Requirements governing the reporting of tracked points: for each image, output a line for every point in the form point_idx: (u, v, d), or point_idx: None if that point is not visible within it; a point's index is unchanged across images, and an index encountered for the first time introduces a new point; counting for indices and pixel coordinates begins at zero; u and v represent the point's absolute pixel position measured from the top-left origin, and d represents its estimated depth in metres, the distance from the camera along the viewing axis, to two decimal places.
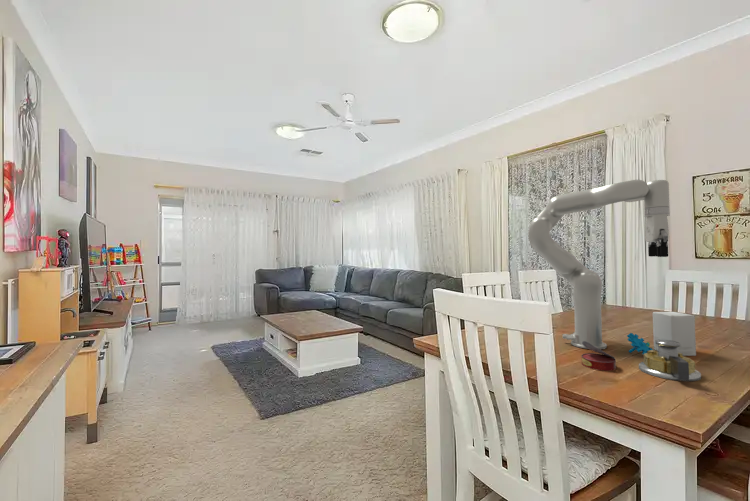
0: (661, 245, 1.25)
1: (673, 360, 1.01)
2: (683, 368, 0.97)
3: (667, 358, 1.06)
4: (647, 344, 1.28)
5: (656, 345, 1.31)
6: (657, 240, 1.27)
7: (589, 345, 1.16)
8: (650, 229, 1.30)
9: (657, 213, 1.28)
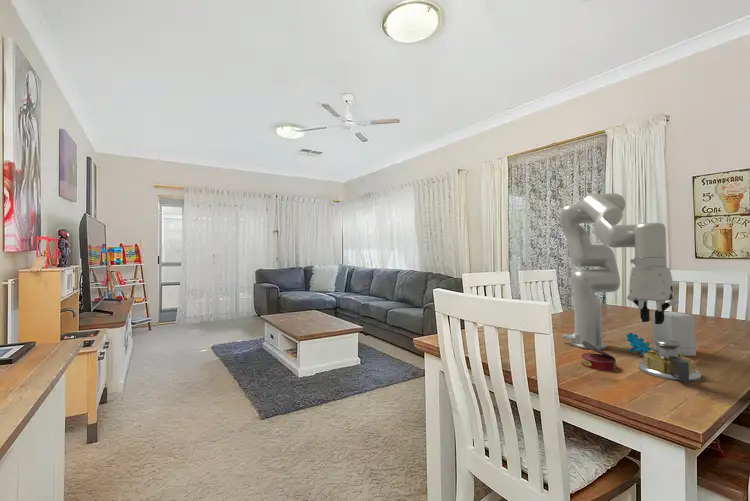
0: (662, 310, 1.01)
1: (673, 360, 1.01)
2: (683, 368, 0.97)
3: (667, 358, 1.06)
4: (647, 344, 1.28)
5: (656, 345, 1.31)
6: (659, 303, 1.01)
7: (589, 345, 1.16)
8: (656, 285, 1.00)
9: (663, 265, 1.00)
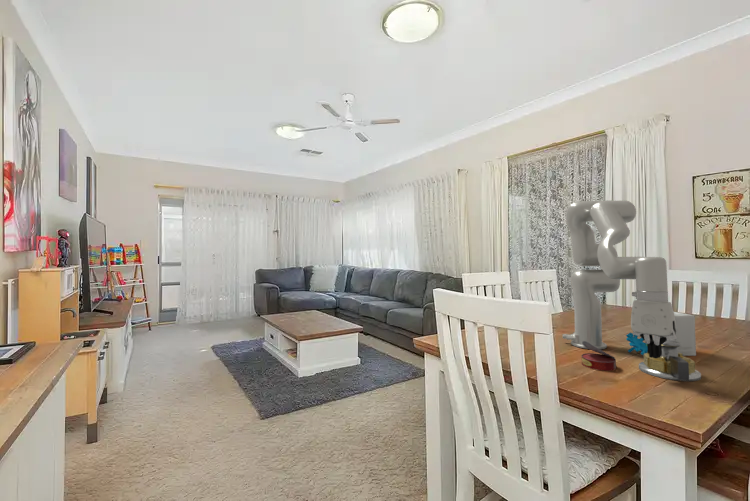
0: (660, 344, 1.01)
1: (673, 360, 1.01)
2: (683, 368, 0.97)
3: (667, 358, 1.06)
4: (646, 344, 1.28)
5: None
6: (658, 337, 1.01)
7: (589, 345, 1.16)
8: (658, 320, 1.00)
9: (665, 300, 1.00)
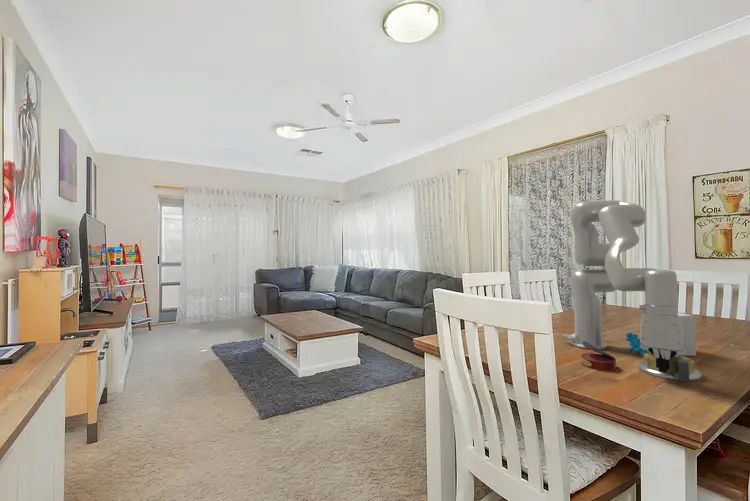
0: (669, 358, 1.00)
1: (673, 360, 1.01)
2: (683, 368, 0.97)
3: None
4: None
5: None
6: (669, 352, 1.00)
7: (589, 345, 1.16)
8: (671, 335, 0.98)
9: (676, 314, 0.99)
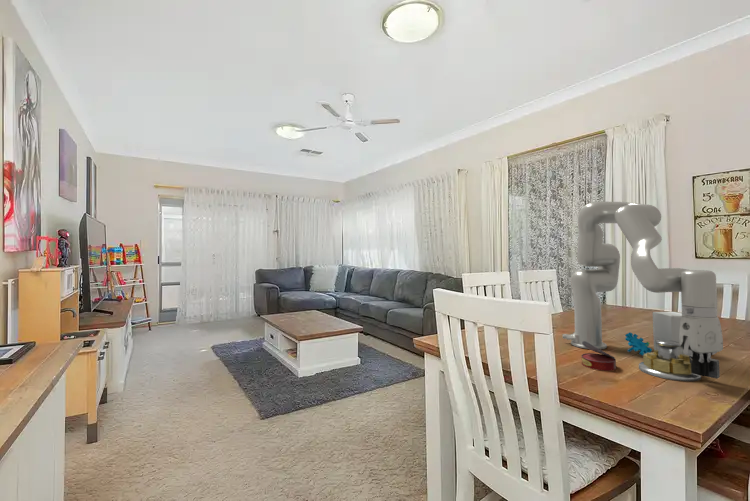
0: None
1: None
2: (718, 366, 0.98)
3: (667, 358, 1.06)
4: (646, 344, 1.28)
5: (656, 345, 1.31)
6: (710, 353, 0.98)
7: (589, 345, 1.16)
8: (717, 336, 0.96)
9: None
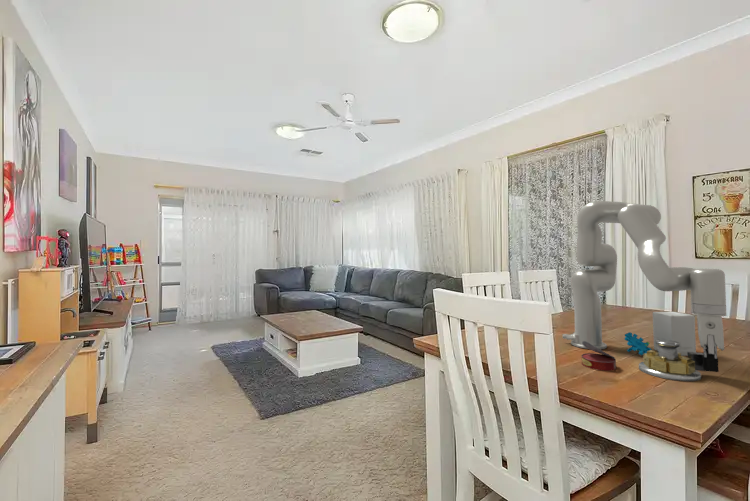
0: None
1: (702, 356, 1.04)
2: None
3: (667, 358, 1.06)
4: (646, 344, 1.28)
5: (656, 345, 1.31)
6: None
7: (589, 345, 1.16)
8: None
9: None
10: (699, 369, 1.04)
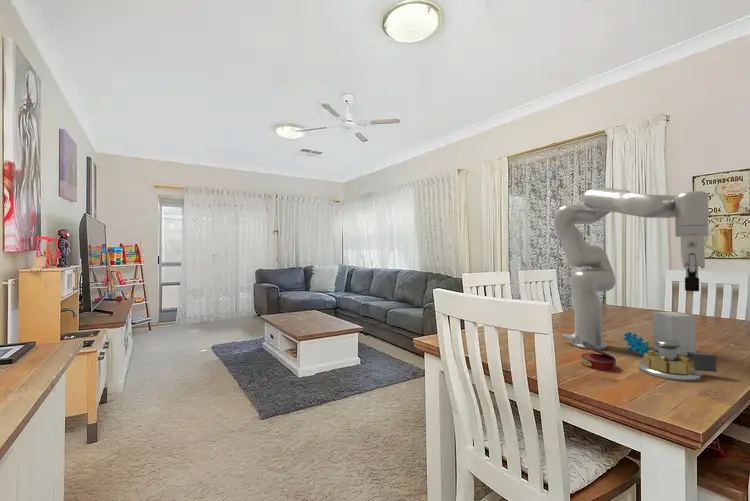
0: None
1: (702, 356, 1.04)
2: None
3: (667, 358, 1.06)
4: (645, 344, 1.29)
5: (656, 345, 1.31)
6: None
7: (589, 345, 1.16)
8: None
9: None
10: (699, 369, 1.04)
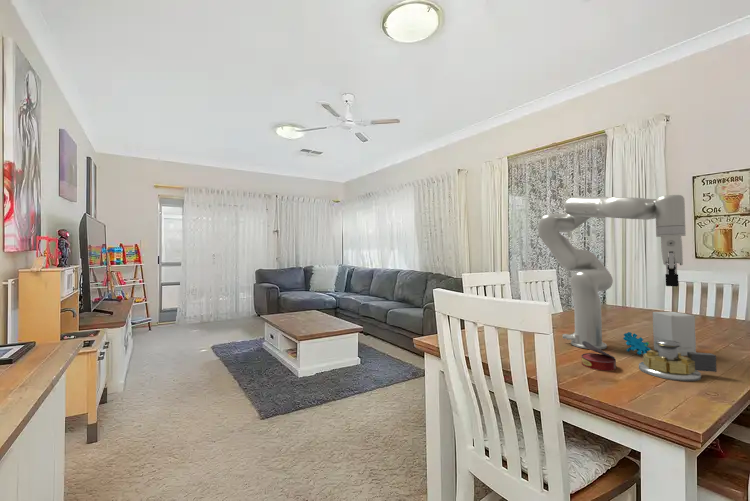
0: None
1: (702, 356, 1.04)
2: None
3: (667, 358, 1.06)
4: (645, 344, 1.29)
5: (656, 345, 1.31)
6: None
7: (589, 345, 1.16)
8: None
9: None
10: (699, 369, 1.04)
